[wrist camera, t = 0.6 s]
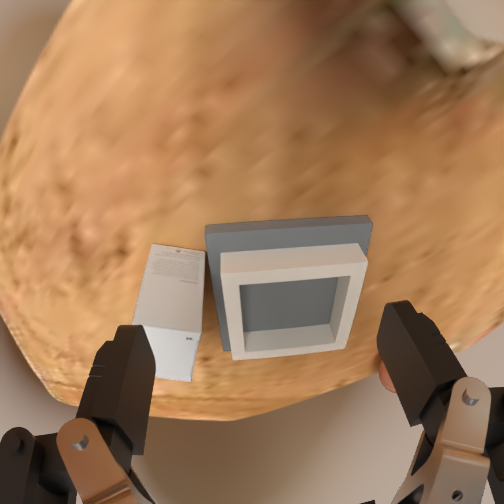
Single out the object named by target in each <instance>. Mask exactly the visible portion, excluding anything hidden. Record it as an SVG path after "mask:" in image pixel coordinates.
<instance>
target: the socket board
mask: <svg viewBox="0 0 504 504" xmlns="http://www.w3.org/2000/svg"><path fill="white" fill-rule="evenodd" d="M372 226H373V223H372V221H371V220H370V218H369V217H368V215H363V216H341V217H322V218H304V219H287V220H271V221H256V222H241V223H227V224H214V225H205V240H206V247H207V254H208V260H209V267H210V273H211V280H212V286H213V292H214V298H215V304H216V310H217V316H218V322H219V328H220V334H221V339H222V345H223V351H231V352H232V359H233V360H245V359H258V358H270V357H280V356H290V355H299V354H308V353H316V352H324V351H331V350H338V349H345V346H346V343H347V340H348V336H349V333H350V330H351V326H352V323H353V319H354V316H355V312H356V308H357V305H358V301H359V297H360V293H361V289H362V285H363V281H364V277H365V273H366V269H367V265H368V261H367V259H366V255H367V250H368V246H369V241H370V236H371V231H372Z"/></svg>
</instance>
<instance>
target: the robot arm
mask: <svg viewBox="0 0 504 504" xmlns="http://www.w3.org/2000/svg"><path fill="white" fill-rule="evenodd" d="M377 348H378V351H379V354H380V356H381V358H382V360H383V363H384V365H385V367H386V369H387V372H388V374H389V376H390V379H391V381H392V383H393V386H394V388H395V390H396V393H397V395H398V397H399V400H400V402H401V404H402V407H403V409H404V412H405V414H406V417H407V419H408V422H409V424H410V427H412V426H415V425H418V424H421V423H422V425H423V427H424V431H423V432H422V434H421V437H420V440H419V443H418V446H417V449H416V452H415V455H414V458H413V460H412V463H411V466H410V468H409V471H408V473H407V476H406V478H405V480H404V482H403V484H402V485H401V487H400V489H399V490H398V491H397V493H396V495H395V497H394V498H393V500H392V503H391V504H481V500H482V496H483V493H484V489H485V485H486V480H487V479H488V482H489V485H490V488H491V491H492V495H493V498H494V501H495V504H504V387H495V388H488V387H487V386H486V384H485V383H484V382H482V381H481V380H479V379H477V378H473V377H468V376H467V375H466V373H465V371H464V370H463V368H462V367H461V365H460V363H459V361H458V360H457V358H456V356H455V355H454V353H453V352H452V350H451V348H450V347H449V345H448V344H447V343H446V340H445V339H444V337H443V336H442V334H441V335H440V331H439V330H438V328H437V327H436V325H435V323H434V322H433V321H432V320H431V319H429V318H428V317H427V316H426V315H424V314H423V313H417V312H416V310H415V309H414V307H413V306H412V304H411V303H410V302H409V301H408V300H404V301H398V302H391V303H387V304H386V305H385V307H384V311H383V315H382V319H381V323H380V327H379V330H378V334H377ZM155 374H156V362H155V357H154V354H153V351H152V348H151V346H150V343H149V341H148V338H147V335H146V332H145V330H144V327H143V326H142V325H120V326H119V327H118V328H117V331H116V334H115V337H114V340H113V341H106V342H105V343H104V344H103V345H102V347H101V348H100V349H99V350H98V351H97V353H96V356H95V359H94V362H93V367H92V368H91V370H90V373H89V378H88V379H87V382H86V386H85V389H84V392H83V395H82V398H81V401H80V405H79V408H78V411H77V414H76V417H75V419H72V420H69V421H68V422H66V423H65V424H64V425H63V426H62V427H61V428H60V430H59V432H58V433H53V434H46V435H39V436H33V435H32V434H31V433H30V432H29V431H28V430H27V429H25V428H22V427H15V428H12V429H10V430H9V431H7V432H6V433H5V434H4V436H3V437H2V440H1V442H0V504H76V496H77V492H78V494H79V495H80V498H81V500H82V502H83V504H157V502H156V501H155V499H154V498H153V496H152V495H151V494H150V492H149V491H148V490H147V488H146V487H145V485H144V484H143V482H142V481H141V479H140V478H139V476H138V475H137V473H136V472H135V470H134V469H133V467H132V466H131V458H132V455H143V453H144V445H145V438H146V431H147V423H148V417H149V410H150V404H151V398H152V391H153V385H154V380H155ZM361 504H375V500H372V501H368V502H365V503H361Z"/></svg>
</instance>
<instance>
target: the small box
mask: <svg viewBox="0 0 504 504" xmlns="http://www.w3.org/2000/svg"><path fill="white" fill-rule="evenodd" d="M204 275H205V251H199V250H192V249H186V248H179V247H172V246H166V245H159V244H152V245H151V249H150V252H149V256H148V259H147V263H146V267H145V270H144V274H143V278H142V282H141V286H140V290H139V294H138V298H137V303H136V307H135V311H134V315H133V319H132V325H142V326H143V327H144V330H145V332H146V335H147V338H148V341H149V343H150V346H151V348H152V351H153V354H154V357H155V362H156V374H155V377H157V378H164V379H171V380H178V381H187V382H191V381H192V374H193V368H194V363H195V358H196V354H197V349H198V345H199V341H200V338H201V335H202V314H203V296H204Z"/></svg>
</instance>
